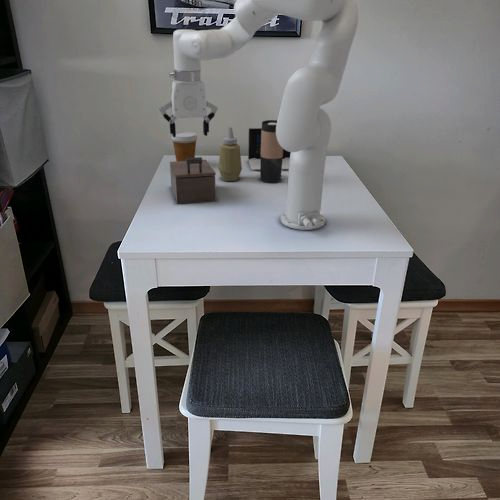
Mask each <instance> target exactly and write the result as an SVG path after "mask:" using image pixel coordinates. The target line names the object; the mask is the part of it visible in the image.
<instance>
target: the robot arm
mask: <svg viewBox="0 0 500 500" xmlns="http://www.w3.org/2000/svg"><path fill="white" fill-rule="evenodd" d="M358 9H359V8H358V4H357V1H356V0H235V2H234V4H233V13H234V18H233V19H232V20H231V21H229V22H228V23H226V24H225V25H224V26H223V27H221V28H219V29H207V30H206V29H201V30H196V29H186V28H185V29H182V28H181V29H176V30H174V31H173V34H172V47H173V66H174V70H173V71H170V72H169V78H172V79H174V80H173V81H172V83H171V84H172V85H171V94H170V95H171V98H170V99H171V100H170V101H169V102H168V103H166V104H164V105H162V106H160V107H159V112H160V113H161V115H162V117H163V118H164V120H166V121H167V122H168V123H169V133H170V135H173V137H176V132H177V131H176V122H175V121H176V120H178V119H189V118H190V119H193V118H203V121H202V134H203V136H204V137H208V133H209V132H210V122H211V121H212V120H213V118H214V117H215V115H216V113H217V111H218V106H217V105H215V104H213V103H211V102H209V101H207V94H206V86H205V81H203V80H202V74H201V73H202V71H201V70H202V68H201V65H202V64H201V61H202V62H203V61H212V60H220V59H221V60H222V59H224V58H228V57H230V56H232V55H233V54H235V53H236V52H237V51H239V50H240V49H242V48H243V47H244V46H246V45H247V44H248V43H249V42H250V41H251V39H252V38H253V37H254V35H255V34H256V32H257V31H258V30H259V29H261V28H262V27H263V26H264V25H267V23H269V22H270V21H272V20H273V19H274V18H275V17H278V15H281V16H285V17H289V18H292V19H296V20H300V21H305V22H319V21H321V22H322V26H321V29H320V31H319V33H318V35H317V37H316V39H315V42H314V45H313V49H312V54H311V57H310V61H309V63H308V65H306V66H302V67H300V68H298V69H296V71H294V72H293V73H292V74H291V75H290V77H289V78H288V80H287V83H286V84H285V88H284V92H283V95H282V100H281V104H280V107H279V113H278V116H277V119H276V120H277V125H276V137H277V141H278V143H279V145H280V146H281V147H282V148H283V149H284V150H286V151H288V152H291V154H290V161H289V170H288V179H287V181H288V182H287V194H286V195H287V196H286V211H284V212H283V213H282V214H281V215H280V223H281V224H283V225H284V226H285V227H287V228H290V229H293V230H301V231H311V230H316V229H320V228H322V227H323V226H324V225H325V223H326V218H325V216H324V215H323V214H321V209H322V198H323V197H322V196H323V195H322V194H323V185H324V177H325V168H326V158H327V151H328V147H329V142H330V138H331V133H332V122H331V118H330V116H329V114H328V112H326V110H324V109H323V108H321V106H323V105H326V104H329V103H330V102H332V101H333V100H334V99H335V98H336V97H337V95H338V93H339V90H340V87H341V83H342V81H343V76H344V72H345V70H346V66H347V63H348V59H349V56H350V53H351V49H352V45H353V42H354V39H355V35H356V33H357V29H358V23H359V10H358ZM208 108H209V109H211V111H210V112H209V113H208V112H207V111H208ZM169 109H171V113H172V114H171V115H168V113H167V112H166V111H168V110H169ZM207 113H208V114H207Z"/></svg>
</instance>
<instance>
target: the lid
mask: <svg viewBox="0 0 500 500" xmlns="http://www.w3.org/2000/svg"><path fill="white" fill-rule="evenodd" d="M170 165H171V168H172V170H173V172H174V174H175V177H176V178H184V177H199V176H214V175H215V176H216V171H215V170H214V168H213V167H212V165H211V164H210V163H209V161H208V160H207V159H203V157H202V156H197V157H196V156H195V158H186V161H176V160H175V161H169V166H170Z"/></svg>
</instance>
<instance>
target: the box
mask: <svg viewBox="0 0 500 500" xmlns="http://www.w3.org/2000/svg"><path fill="white" fill-rule="evenodd" d="M169 169H170V185H171V186H170V187H171V190H172V194H173V197H174V199H175V202H176V204H177V205H180V204H181V205H182V204H183V205H184V204H193V203H206V202H216V201H217V200H216V199H217V198H216V175H214V176H199V177H184V178H176V177H175V174H174V172H173V170H172V168H171V165H170V164H169Z"/></svg>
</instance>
